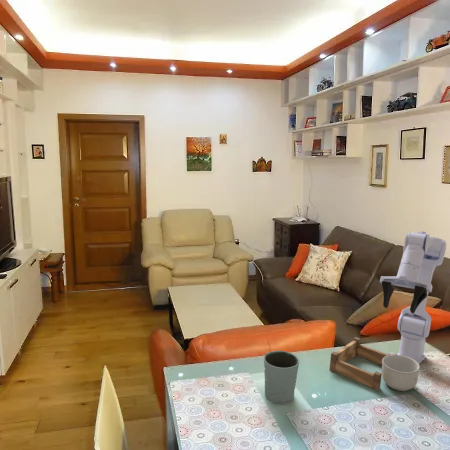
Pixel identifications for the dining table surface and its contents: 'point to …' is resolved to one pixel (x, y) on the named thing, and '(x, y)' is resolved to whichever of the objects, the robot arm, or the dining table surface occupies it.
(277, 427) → the dining table surface
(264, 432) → the dining table surface
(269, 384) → the grey tumbler
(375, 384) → the wooden frame
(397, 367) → the teacup
